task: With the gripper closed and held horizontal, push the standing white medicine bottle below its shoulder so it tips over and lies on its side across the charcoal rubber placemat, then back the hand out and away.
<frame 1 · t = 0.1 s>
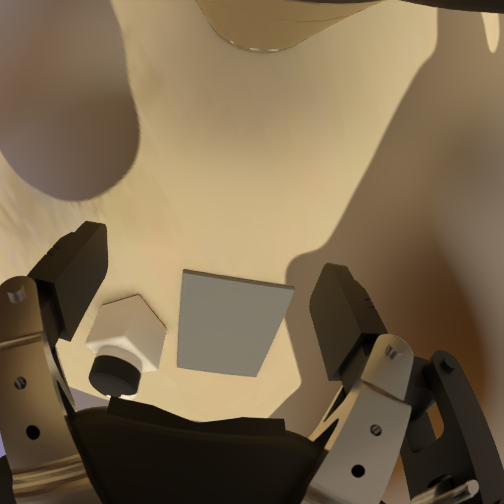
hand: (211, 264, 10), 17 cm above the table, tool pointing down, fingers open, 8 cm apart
placemat: (226, 333, 38), on the table
medicine bottle: (134, 316, 37), on the table
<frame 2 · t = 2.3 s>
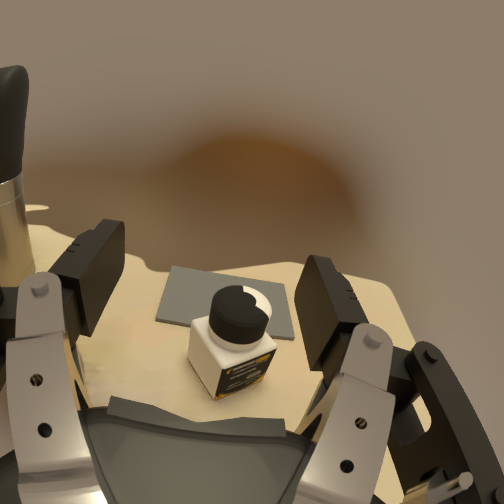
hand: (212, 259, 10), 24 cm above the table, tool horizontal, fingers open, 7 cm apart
placemat: (227, 302, 45), on the table
medicine bottle: (224, 370, 34), on the table
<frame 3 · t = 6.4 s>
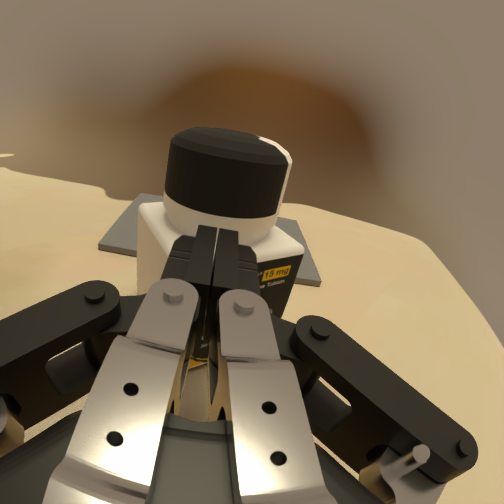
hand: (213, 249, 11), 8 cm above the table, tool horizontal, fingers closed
placemat: (213, 233, 30), on the table
medicine bottle: (202, 321, 19), on the table, touching gripper
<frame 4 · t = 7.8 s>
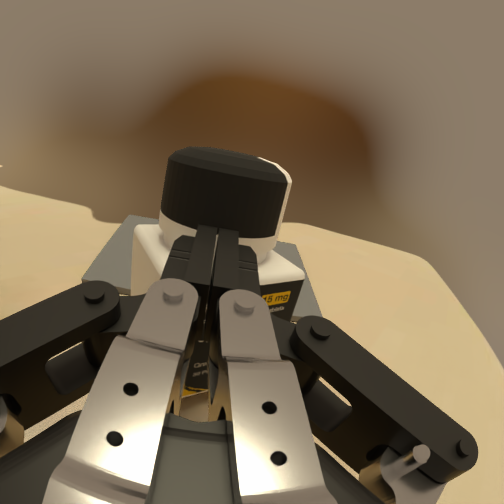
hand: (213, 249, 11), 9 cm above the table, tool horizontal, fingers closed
placemat: (206, 263, 27), on the table
medicine bottle: (196, 351, 17), on the table, touching gripper, placemat
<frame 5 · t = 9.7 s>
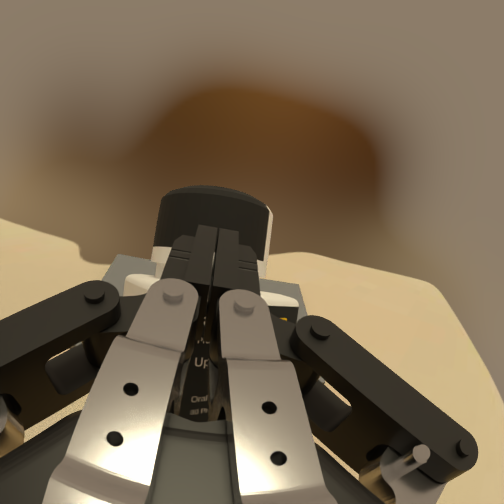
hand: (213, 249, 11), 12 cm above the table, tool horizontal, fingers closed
placemat: (201, 316, 25), on the table
medicine bottle: (193, 411, 14), point 3 cm above the table, touching gripper, placemat
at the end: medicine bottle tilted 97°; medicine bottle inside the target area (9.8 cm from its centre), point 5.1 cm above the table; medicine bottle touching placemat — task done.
